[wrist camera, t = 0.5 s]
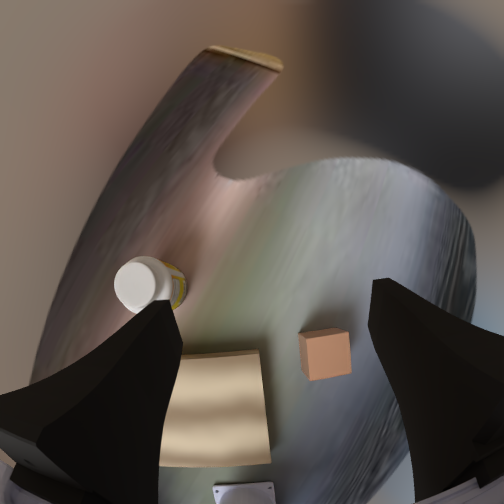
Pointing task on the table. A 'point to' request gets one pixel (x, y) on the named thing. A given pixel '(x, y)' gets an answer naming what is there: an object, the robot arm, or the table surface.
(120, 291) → the supplement bottle
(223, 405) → the maple base
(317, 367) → the terracotta block
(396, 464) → the table surface
